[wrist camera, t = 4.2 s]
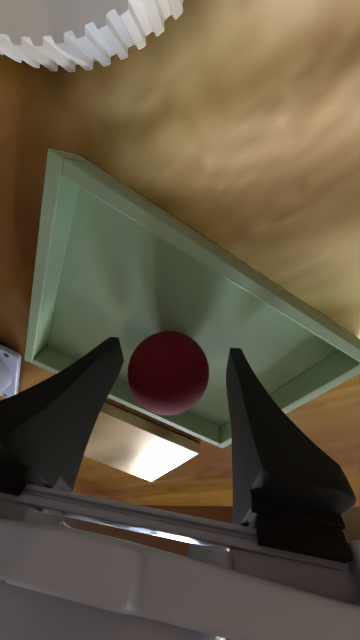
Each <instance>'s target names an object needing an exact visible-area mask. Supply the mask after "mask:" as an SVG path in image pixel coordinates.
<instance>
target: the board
mask: <svg viewBox="0 0 360 640" xmlns="http://www.w3.org/2000/svg"><path fill="white" fill-rule="evenodd" d="M199 445H200V444H199V443H197V442H194V441H192V440H190V439H188V438H185V437H183V436H181V435H179V434H176V433H174V432H172V431H169V430H167V429H165V428H163V427H160V426H158V425H156V424H154V423H151V422H149V421H147V420H144V419H142V418H140V417H138V416H135V415H133V414H131V413H129V412H126V411H124V410H122V409H120V408H117V407H115V406H113V405H110V404H108V403H106V402H105V403H104V404H103V406H102V409H101V411H100V413H99V415H98V418H97V420H96V423H95V425H94V428H93V430H92V433H91V436H90V438H89V441H88V444H87V447H86V450H85V452H84V455H83V456H86V457H88V458H91V459H93V460H96V461H99V462H101V463H104V464H106V465H109V466H112V467H114V468H117V469H119V470H122V471H125V472H127V473H130V474H133V475H135V476H138V477H140V478H143V479H146V480H148V481H151V482H152V481H153V480H155V479H157V478H158V477H160V476H162V475H163V474H165V473H167V472H169V471H170V470H172V469H174V468H175V467H177V466H179V465H181V464H182V463H184V462H186V461H187V460H189V459H191V458H192V457H194V456H196V455H198V454H199Z"/></svg>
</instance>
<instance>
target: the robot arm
mask: <svg viewBox="0 0 360 640" xmlns="http://www.w3.org/2000/svg"><path fill="white" fill-rule="evenodd" d="M123 362H124V358H123V354H122V349H121V345H120V341H119V338H118V337H109V338H107V339H106V340H105V341H103V342H102V343H101V344H99V345H98V346H97V347H95V348H94V349H93V350H91V351H90V352H88V353H87V354H86V355H84V356H83V357H82V358H80V359H79V360H77V361H76V362H74V363H73V364H71V365H70V366H68V367H67V368H65V369H64V370H62V371H60V372H59V373H57V374H55V375H54V376H52V377H50V378H48V379H46V380H44V381H43V382H41V383H39V384H37V385H35V386H33V387H31V388H29V389H27V390H24V391H22V392H20V393H18V386H19V376H20V365H21V355H20V354H19V353H18V352H16V351H14V350H12V349H10V348H7V347H5V346H3V345H1V344H0V396H2V397H5V398H6V399H4V400H1V401H0V640H225V638H226V639H230V640H360V541H350V542H346V539H345V536H344V533H343V531H342V529H345V525H344V522H343V520H342V517H341V514H342V513H343V512H345V511H347V510H348V509H349V508H351V507H352V506H353V505H354V504H355V502H356V497H355V495H354V493H353V490H352V488H351V486H350V484H349V482H348V480H347V478H346V476H345V474H344V473H343V471H342V469H341V467H340V465H338V464H337V463H336V462H335V461H334V460H333V459H331V458H330V457H329V456H328V455H327V454H326V453H324V452H323V451H322V450H321V449H320V448H319V447H317V446H316V445H315V444H314V443H313V442H312V441H311V440H310V439H309V438H308V437H307V436H306V435H305V434H304V433H303V432H302V431H301V430H300V429H299V428H298V427H297V426H296V425H295V424H294V423H293V422H292V421H291V420H290V419H289V418H288V417H287V416H286V414H285V413H284V412H283V411H282V410H281V409H280V408H279V406H278V405H277V404H276V403H275V401H274V400H273V399H272V398H271V396H270V395H269V394H268V392H267V391H266V390H265V388H264V387H263V385H262V384H261V382H260V381H259V379H258V378H257V376H256V375H255V373H254V371H253V370H252V368H251V366H250V365H249V363H248V361H247V359H246V357H245V355H244V353H243V351H242V349H241V348H230V351H229V357H228V362H227V368H226V390H227V398H228V406H229V414H230V421H231V434H232V469H233V524H231V523H226V522H221V521H216V520H211V519H205V518H200V517H195V516H190V515H185V514H180V513H175V512H170V511H164V510H159V509H154V508H149V507H144V506H139V505H134V504H129V503H124V502H119V501H113V500H108V499H103V498H98V497H93V496H88V495H83V494H78V493H73V492H72V490H73V487H74V484H75V480H76V477H77V474H78V471H79V467H80V464H81V461H82V458H83V455H84V452H85V450H86V447H87V444H88V441H89V438H90V436H91V433H92V430H93V428H94V425H95V423H96V420H97V418H98V415H99V413H100V411H101V409H102V406H103V404H104V403H105V401H106V399H107V397H108V395H109V393H110V391H111V389H112V387H113V385H114V383H115V381H116V380H117V378H118V376H119V373H120V371H121V368H122V365H123ZM44 512H47V513H52V514H56V515H61V516H66V517H70V518H75V519H80V520H84V521H89V522H94V523H99V524H103V525H108V526H113V527H117V528H122V529H127V530H132V531H136V532H141V533H146V534H151V535H155V536H160V537H164V538H169V539H174V540H179V541H183V542H188V543H193V544H198V545H202V546H195V545H190V547H189V548H188V558H187V557H184V556H180V555H177V554H173V553H170V552H166V551H163V550H159V549H156V548H152V547H148V546H145V545H141V544H138V543H134V542H130V541H127V540H122V539H119V538H114V537H110V536H106V535H101V534H96V533H92V532H87V531H82V530H77V529H73V528H72V527H70V526H68V525H67V524H66V523H64V522H63V520H62V519H61V518H59V517H56V516H53V515H50V514H47V513H44ZM228 551H229V552H228Z"/></svg>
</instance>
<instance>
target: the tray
mask: <svg viewBox="0 0 360 640" xmlns="http://www.w3.org/2000/svg"><path fill="white" fill-rule="evenodd" d="M163 331H175V332H179V333H183V334H185V335H187V336H189V337H190V338H192V339H193V340H194V341H196V342H197V343H198V344H199V346H200V347H201V348H202V350H203V351H204V353H205V355H206V358H207V361H208V365H209V380H208V384H207V388H206V390H205V392H204V394H203V396H202V397H201V399H200V400H199V401H198V402H197V403H196V404H195V405H194V406H193V407H192V408H190V409H189V410H187V411H185V412H182V413H180V414H176V415H159V414H156V413H153V412H151V411H149V410H147V409H146V408H144V407H143V406H142V405H140V403H139V402H138V401H137V400H136V399H135V397H134V396H133V394H132V392H131V390H130V387H129V383H128V376H127V375H128V365H129V361H130V358H131V356H132V354H133V352H134V350H135V349H136V347H137V346H138V345H139V344H140V343H141V342H142V341H143V340H144V339H146V338H147V337H149V336H151V335H153V334H155V333H158V332H163ZM109 337H118V338H119V341H120V345H121V349H122V354H123V358H124V362H123V365H122V368H121V371H120V373H119V376H118V378H117V380H116V381H115V383H114V385H113V387H112V389H111V391H110V393H109V395H108V398H110V399H113V400H115V401H117V402H119V403H122V404H124V405H126V406H128V407H131V408H133V409H135V410H137V411H140V412H142V413H144V414H146V415H148V416H151V417H153V418H155V419H157V420H160V421H162V422H164V423H166V424H169V425H171V426H173V427H175V428H178V429H180V430H182V431H184V432H187V433H189V434H191V435H193V436H196V437H198V438H200V439H202V440H204V441H207V442H209V443H211V444H213V445H216V446H218V447H220V448H224V447H226V446H228V445H229V444H231V443H232V434H231V421H230V414H229V406H228V398H227V390H226V368H227V362H228V357H229V351H230V348H241V349H242V351H243V353H244V355H245V357H246V359H247V361H248V363H249V365H250V366H251V368H252V370H253V371H254V373H255V375H256V376H257V378H258V379H259V381H260V382H261V384H262V385H263V387H264V388H265V390H266V391H267V392H268V394H269V395H270V396H271V398H272V399H273V400H274V401H275V403H276V404H277V405H278V406H279V408H280V409H281V410H282V411H283V412H284V413H285V414H286V413H288V412H290V411H291V410H293V409H295V408H297V407H299V406H300V405H302V404H304V403H306V402H308V401H310V400H311V399H313V398H315V397H317V396H319V395H321V394H322V393H324V392H326V391H328V390H330V389H331V388H333V387H335V386H337V385H339V384H341V383H342V382H344V381H346V380H348V379H350V378H352V377H353V376H355V375H357V374H359V373H360V340H359V338H358V337H356V336H355V335H353V334H352V333H350V332H348V331H347V330H345V329H344V328H342V327H341V326H339V325H338V324H336V323H335V322H333V321H332V320H330V319H329V318H327V317H326V316H324V315H323V314H321V313H320V312H318V311H316V310H315V309H313V308H312V307H310V306H309V305H307V304H306V303H304V302H303V301H301V300H300V299H298V298H297V297H295V296H294V295H292V294H291V293H289V292H288V291H286V290H284V289H283V288H281V287H280V286H278V285H277V284H275V283H274V282H272V281H271V280H269V279H268V278H266V277H265V276H263V275H262V274H260V273H259V272H257V271H256V270H254V269H252V268H251V267H249V266H248V265H246V264H245V263H243V262H242V261H240V260H239V259H237V258H236V257H234V256H233V255H231V254H230V253H228V252H227V251H225V250H224V249H222V248H220V247H219V246H217V245H216V244H214V243H213V242H211V241H210V240H208V239H207V238H205V237H204V236H202V235H201V234H199V233H198V232H196V231H195V230H193V229H192V228H190V227H188V226H187V225H185V224H184V223H182V222H181V221H179V220H178V219H176V218H175V217H173V216H172V215H170V214H169V213H167V212H166V211H164V210H163V209H161V208H159V207H158V206H156V205H155V204H153V203H152V202H150V201H149V200H147V199H146V198H144V197H143V196H141V195H140V194H138V193H137V192H135V191H134V190H132V189H131V188H129V187H127V186H126V185H124V184H123V183H121V182H120V181H118V180H117V179H115V178H114V177H112V176H111V175H109V174H108V173H106V172H105V171H103V170H102V169H100V168H99V167H97V166H95V165H94V164H92V163H91V162H89V161H88V160H86V159H85V158H83V157H82V156H80V155H78V154H74V153H68V152H64V151H59V150H55V149H50V148H48V151H47V160H46V169H45V178H44V187H43V196H42V205H41V214H40V223H39V232H38V241H37V250H36V258H35V267H34V276H33V285H32V294H31V303H30V312H29V321H28V330H27V339H26V348H25V357H24V360H25V361H28V362H30V363H33V364H34V365H36V366H39V367H41V368H43V369H45V370H48V371H50V372H52V373H54V374H57V373H59V372H60V371H62V370H64V369H65V368H67V367H68V366H70V365H71V364H73V363H74V362H76V361H77V360H79V359H80V358H82V357H83V356H84V355H86V354H87V353H88V352H90V351H91V350H93V349H94V348H95V347H97V346H98V345H99V344H101V343H102V342H103V341H105V340H106V339H107V338H109Z"/></svg>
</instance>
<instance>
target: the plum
mask: <svg viewBox="0 0 360 640" xmlns="http://www.w3.org/2000/svg"><path fill="white" fill-rule="evenodd" d="M127 376H128V383H129V387H130V390H131V392H132V394H133V396H134V397H135V399H136V400H137V401H138V402H139V403H140V405H142V406H143V407H144V408H146V409H147V410H149V411H151V412H153V413H156V414H159V415H176V414H180V413H182V412H185V411H187V410H189V409H190V408H192V407H193V406H194V405H195V404H196V403H197V402H198V401H199V400H200V399H201V397H202V396H203V394H204V392H205V390H206V388H207V384H208V380H209V365H208V361H207V358H206V355H205V353H204V351H203V350H202V348H201V347H200V346H199V344H198V343H197V342H196V341H194V340H193V339H192V338H190V337H189V336H187V335H185V334H183V333H179V332H175V331H163V332H158V333H155V334H153V335H151V336H149V337H147V338H146V339H144V340H143V341H142V342H141V343H140V344H139V345H138V346H137V347H136V349H135V350H134V352H133V354H132V356H131V358H130V361H129V365H128V375H127Z"/></svg>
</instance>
